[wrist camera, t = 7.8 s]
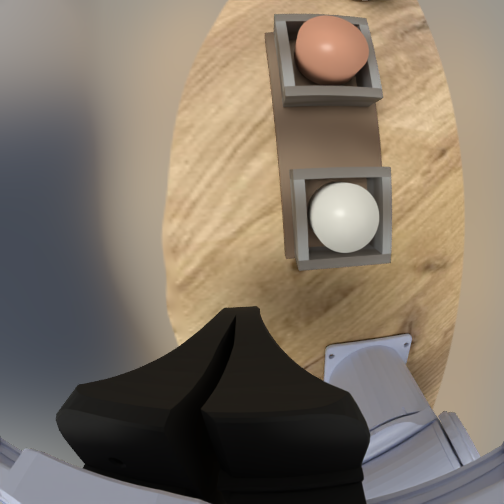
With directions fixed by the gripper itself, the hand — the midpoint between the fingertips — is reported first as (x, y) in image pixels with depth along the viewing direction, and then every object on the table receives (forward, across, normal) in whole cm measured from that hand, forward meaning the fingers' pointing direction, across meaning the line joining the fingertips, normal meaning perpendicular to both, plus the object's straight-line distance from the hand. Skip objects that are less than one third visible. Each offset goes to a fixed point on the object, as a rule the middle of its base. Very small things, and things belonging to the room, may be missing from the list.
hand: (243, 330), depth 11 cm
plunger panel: (+10, -6, -8) cm, 14 cm away
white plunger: (+9, -6, -3) cm, 11 cm away
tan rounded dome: (+8, -6, -13) cm, 16 cm away
